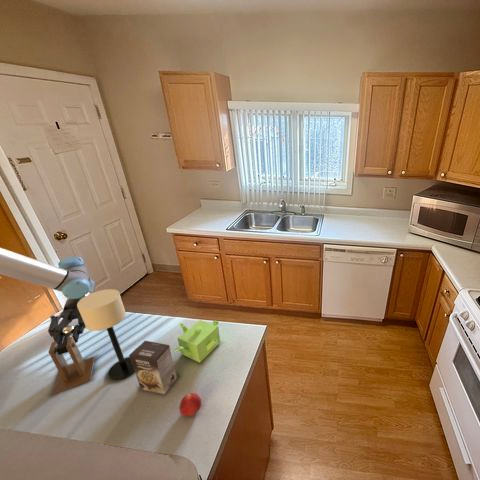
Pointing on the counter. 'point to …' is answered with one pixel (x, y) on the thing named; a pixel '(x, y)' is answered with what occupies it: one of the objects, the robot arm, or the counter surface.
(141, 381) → the coffee box
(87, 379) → the wooden globe stand
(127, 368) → the desk lamp
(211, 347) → the cube with spouts
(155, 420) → the counter surface
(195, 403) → the red apple
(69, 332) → the black pendulum
